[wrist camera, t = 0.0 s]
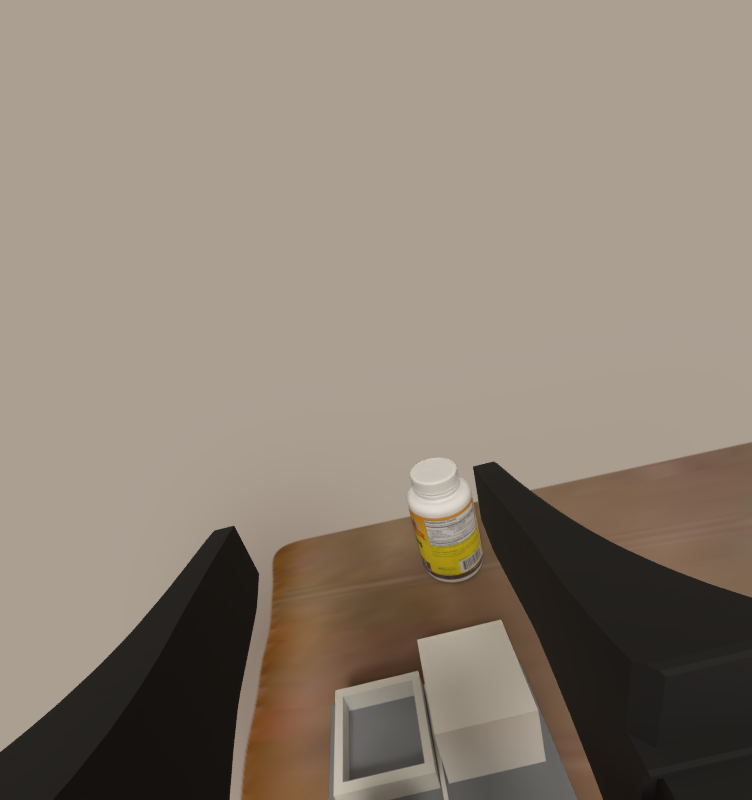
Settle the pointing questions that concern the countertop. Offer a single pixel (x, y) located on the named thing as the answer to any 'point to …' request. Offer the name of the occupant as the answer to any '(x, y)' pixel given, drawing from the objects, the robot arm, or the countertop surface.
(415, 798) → the board
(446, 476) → the supplement bottle
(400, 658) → the countertop surface
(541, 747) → the cover
